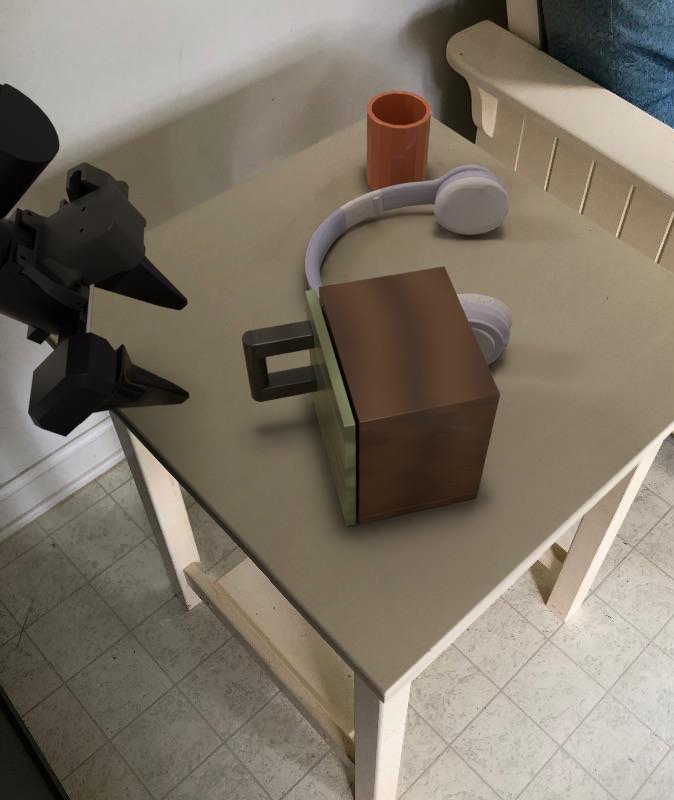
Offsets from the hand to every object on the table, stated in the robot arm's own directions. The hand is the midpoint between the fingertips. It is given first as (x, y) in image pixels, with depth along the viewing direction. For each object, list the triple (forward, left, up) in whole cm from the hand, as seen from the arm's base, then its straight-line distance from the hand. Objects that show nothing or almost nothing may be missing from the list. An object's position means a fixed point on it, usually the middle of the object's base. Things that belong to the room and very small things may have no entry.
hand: (185, 350), depth 62 cm
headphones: (+17, +19, -11) cm, 28 cm away
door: (+8, -3, -11) cm, 14 cm away
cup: (+16, +35, -11) cm, 40 cm away
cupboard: (+16, -1, -11) cm, 20 cm away
